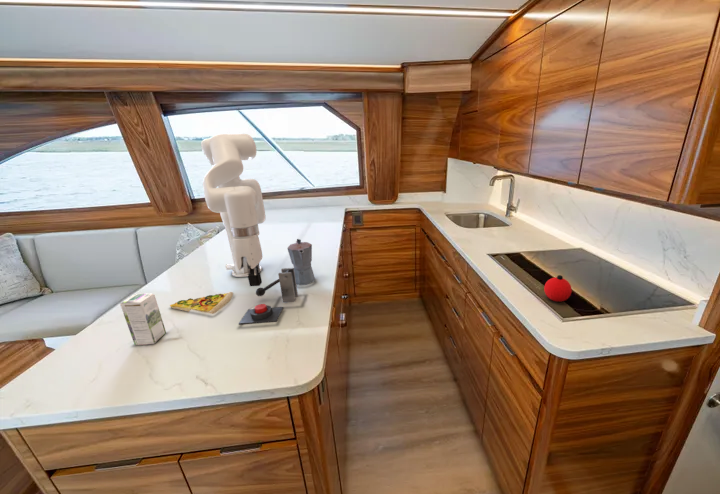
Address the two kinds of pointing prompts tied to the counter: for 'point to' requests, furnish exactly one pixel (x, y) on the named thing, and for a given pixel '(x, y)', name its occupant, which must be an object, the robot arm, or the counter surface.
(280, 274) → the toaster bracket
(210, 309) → the pizza slice
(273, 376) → the counter surface
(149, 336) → the syrup box
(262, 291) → the lever
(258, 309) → the button
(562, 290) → the ornament
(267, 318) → the control block
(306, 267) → the moka pot
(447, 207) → the counter surface
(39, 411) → the counter surface
